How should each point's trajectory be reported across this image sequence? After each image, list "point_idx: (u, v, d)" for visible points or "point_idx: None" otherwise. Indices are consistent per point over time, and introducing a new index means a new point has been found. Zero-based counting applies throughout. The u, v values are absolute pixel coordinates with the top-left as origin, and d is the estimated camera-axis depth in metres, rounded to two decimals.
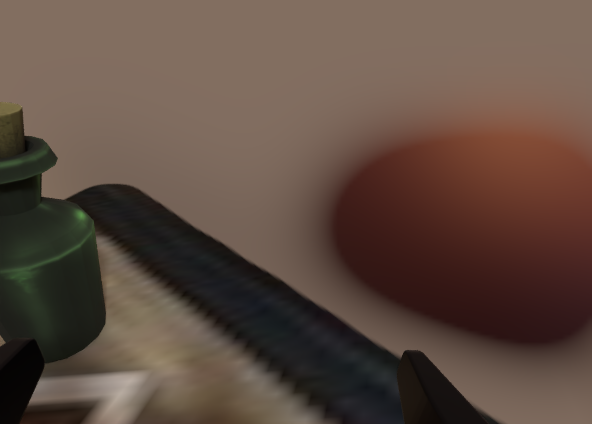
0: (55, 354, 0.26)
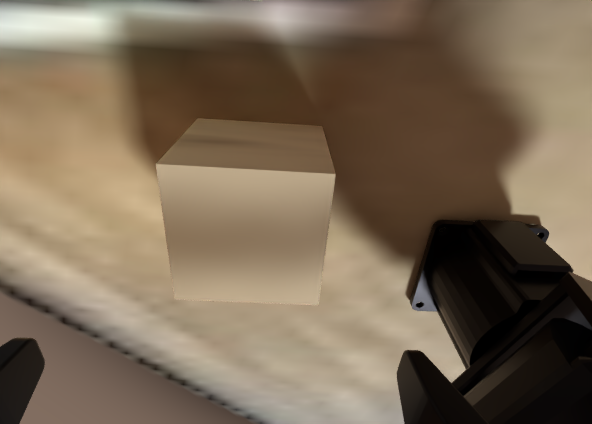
0: None
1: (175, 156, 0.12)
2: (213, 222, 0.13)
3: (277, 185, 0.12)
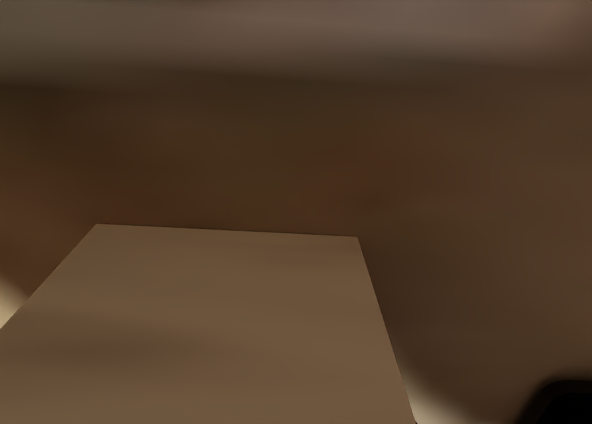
0: None
1: None
2: None
3: None
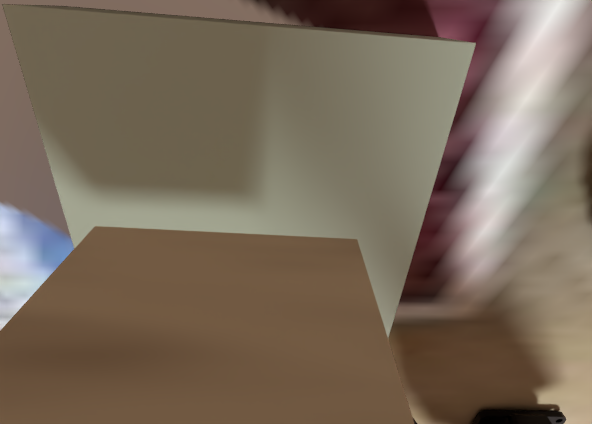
0: None
1: None
2: None
3: None
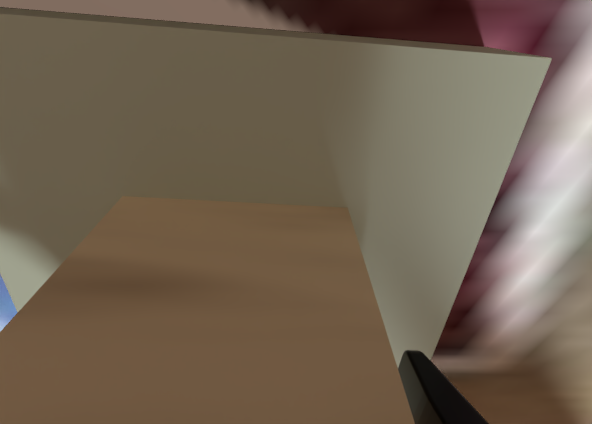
0: None
1: None
2: None
3: None
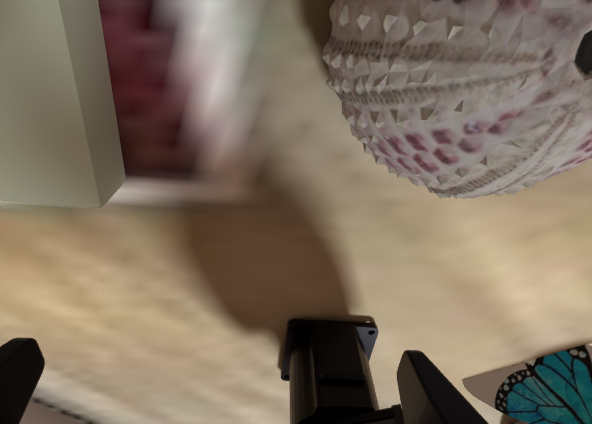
0: None
1: None
2: None
3: None
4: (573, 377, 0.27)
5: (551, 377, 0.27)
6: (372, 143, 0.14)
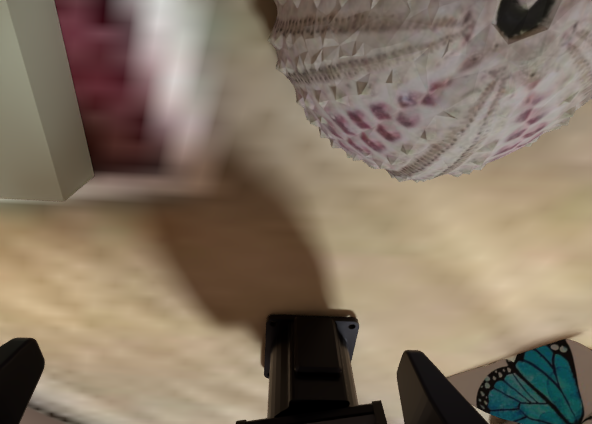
0: None
1: None
2: None
3: None
4: (554, 373, 0.26)
5: (532, 374, 0.27)
6: (323, 125, 0.14)
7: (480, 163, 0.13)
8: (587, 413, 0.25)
